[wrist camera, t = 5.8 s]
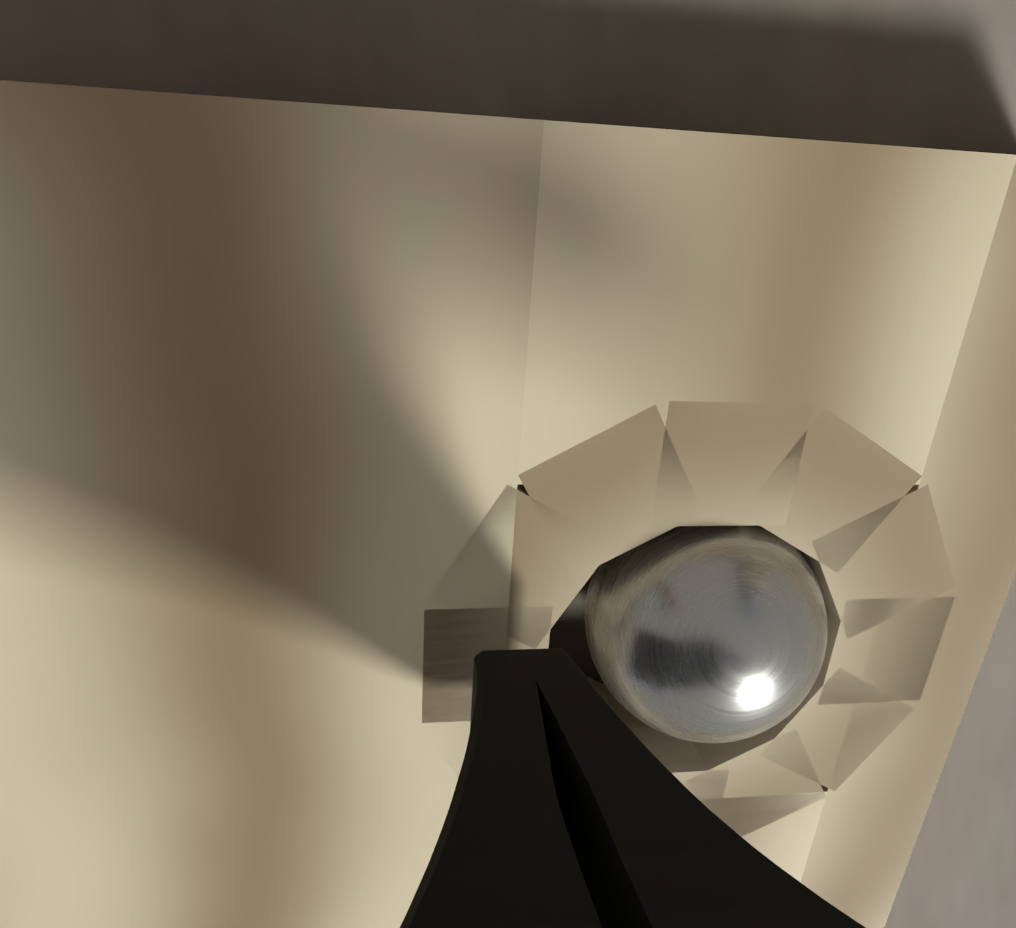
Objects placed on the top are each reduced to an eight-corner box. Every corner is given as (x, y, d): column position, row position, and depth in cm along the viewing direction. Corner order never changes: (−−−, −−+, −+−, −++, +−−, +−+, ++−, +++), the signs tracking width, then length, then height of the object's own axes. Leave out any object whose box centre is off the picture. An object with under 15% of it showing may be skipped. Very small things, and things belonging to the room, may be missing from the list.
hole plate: (36, 912, 16) (-24, 1039, 14) (-182, 74, 10) (-353, 54, 8) (817, 852, 19) (875, 950, 16) (1027, 161, 13) (1166, 165, 10)
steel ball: (927, 689, 11) (798, 628, 15) (794, 459, 11) (699, 458, 15) (703, 839, 11) (631, 736, 15) (562, 605, 11) (528, 565, 15)
